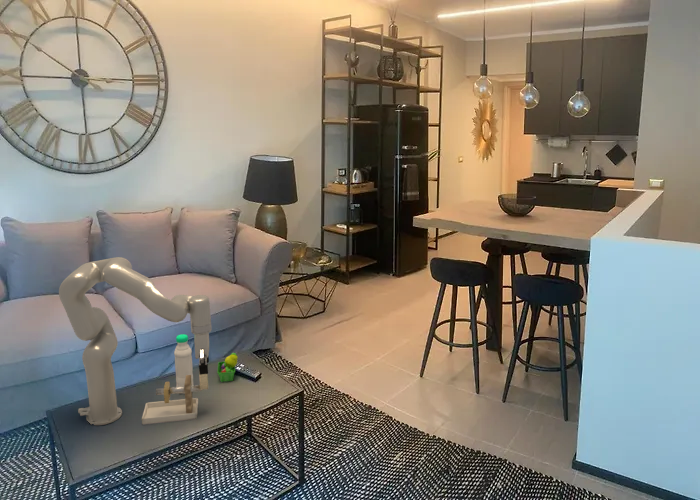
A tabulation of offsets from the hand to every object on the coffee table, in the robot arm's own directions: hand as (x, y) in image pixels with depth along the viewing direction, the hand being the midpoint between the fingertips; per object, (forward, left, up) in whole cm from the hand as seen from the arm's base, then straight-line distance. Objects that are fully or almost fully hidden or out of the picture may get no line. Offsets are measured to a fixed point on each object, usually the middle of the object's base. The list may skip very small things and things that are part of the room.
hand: (204, 368), depth 209 cm
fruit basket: (+8, +28, -19) cm, 34 cm away
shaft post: (-7, 0, -18) cm, 19 cm away
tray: (-14, 0, -18) cm, 23 cm away
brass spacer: (-15, 0, -12) cm, 19 cm away
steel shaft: (-9, 0, -9) cm, 13 cm away
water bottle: (-10, +19, -19) cm, 28 cm away
